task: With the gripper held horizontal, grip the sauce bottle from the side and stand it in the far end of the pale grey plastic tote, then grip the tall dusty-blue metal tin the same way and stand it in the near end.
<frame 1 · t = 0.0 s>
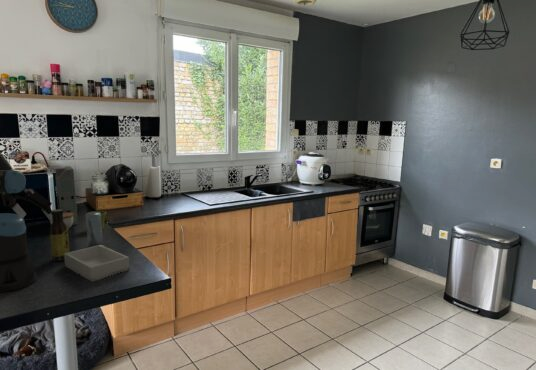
hand: (38, 217, 155), 15 cm above the countertop, tool tilted 35°, fingers open, 13 cm apart
sauce bottle: (61, 259, 151), on the countertop
plant pot: (97, 229, 193), on the countertop
device: (68, 222, 207), on the countertop
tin: (95, 247, 165), on the countertop
lidded jar: (62, 229, 193), on the countertop
tote: (97, 268, 141), on the countertop
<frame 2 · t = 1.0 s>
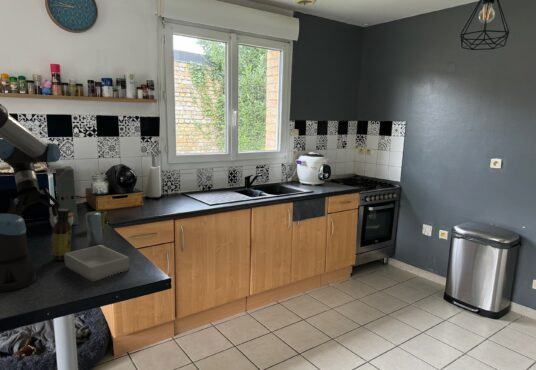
hand: (36, 230, 148), 12 cm above the countertop, tool tilted 40°, fingers open, 13 cm apart
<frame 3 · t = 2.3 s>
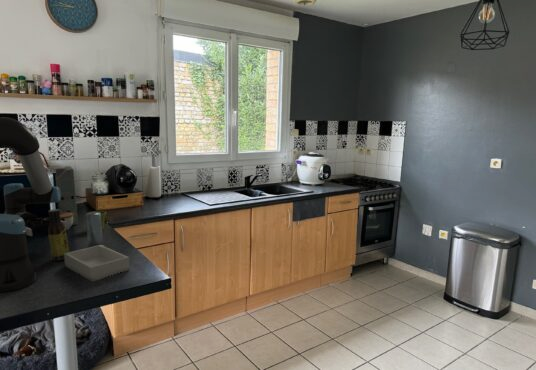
hand: (49, 228, 154), 11 cm above the countertop, tool horizontal, fingers open, 13 cm apart
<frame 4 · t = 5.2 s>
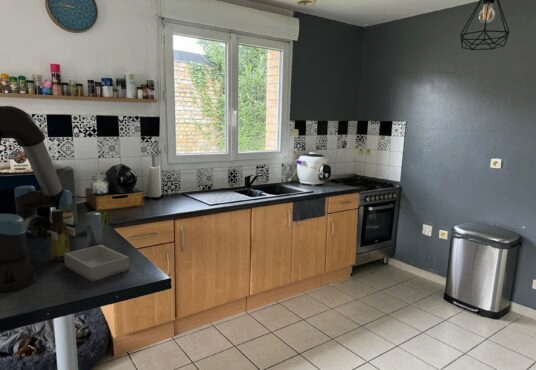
hand: (65, 234, 146), 11 cm above the countertop, tool horizontal, fingers closed on sauce bottle, 6 cm apart
sauce bottle: (61, 259, 151), on the countertop, touching gripper
everything else where it was.
when the fingers open (13 cm above the countertop, at t = 10.4 s): sauce bottle drops 1 cm, resting on tote.
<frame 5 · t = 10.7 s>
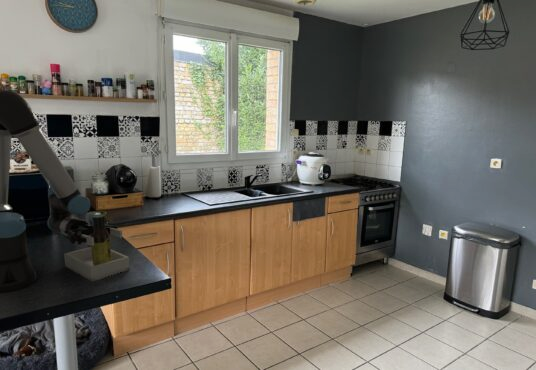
hand: (107, 237, 133), 13 cm above the countertop, tool horizontal, fingers open, 10 cm apart
sauce bottle: (103, 269, 138), point 1 cm above the countertop, touching tote
everything else where it was.
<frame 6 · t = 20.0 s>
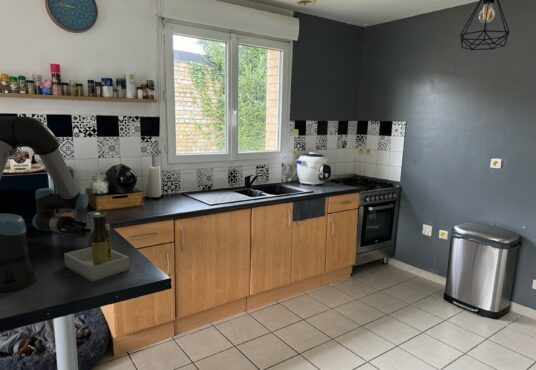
hand: (103, 229, 162), 9 cm above the countertop, tool horizontal, fingers closed on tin, 6 cm apart
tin: (95, 247, 165), on the countertop, touching gripper
everything else where it was.
when the fingers open (11 cm above the countertop, at t = 26.5 s): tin drops 1 cm, resting on tote.
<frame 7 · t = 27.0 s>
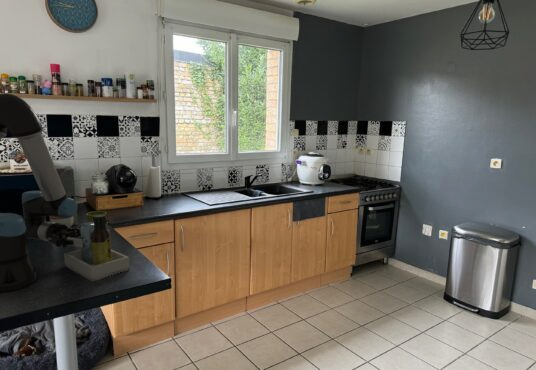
hand: (95, 238, 141), 11 cm above the countertop, tool horizontal, fingers open, 13 cm apart
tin: (90, 262, 144), point 1 cm above the countertop, touching tote
everything else where it was.
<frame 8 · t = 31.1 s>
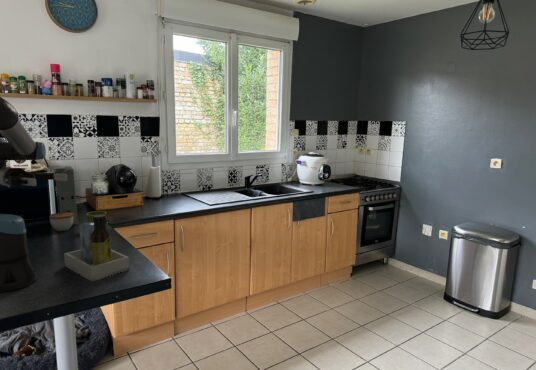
hand: (51, 179, 145), 32 cm above the countertop, tool horizontal, fingers open, 13 cm apart
nothing on the countertop moved.
at the end: sauce bottle inside the target area on the tote (4.9 cm from its centre), point 0.8 cm above the tote's base; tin inside the target area on the tote (5.0 cm from its centre), point 1.0 cm above the tote's base; sauce bottle tilted 0° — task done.
